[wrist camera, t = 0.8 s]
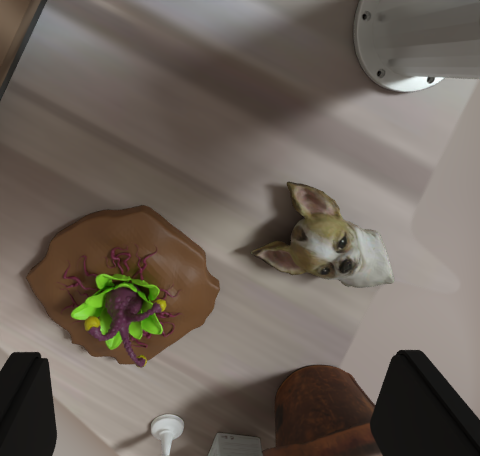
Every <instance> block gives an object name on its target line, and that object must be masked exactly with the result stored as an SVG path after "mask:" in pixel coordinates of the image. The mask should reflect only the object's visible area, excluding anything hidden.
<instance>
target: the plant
mask: <svg viewBox="0 0 480 456" xmlns="http://www.w3.org/2000/svg"><path fill="white" fill-rule="evenodd" d="M26 279H27V280H28V282H29V284H30V286H31V288H32V291H33V292H34V294H35V295H36V297H37V298H38V299H39V300H40V302H41V303H42V304H43V306H44V307H45V309H46V311H47V313H48V315H49V316H50V318H51V319H52V320H54V321H55V322H56V323H57V324H59V325H60V326H61V327H63V328H64V329H66V330H67V331H68V332H69V333H70V335H71V338H72V343H73V344H79V345H82V346H83V347H84V348H85V349H86V350H87V351H88V353H89V354H90V355H91V356H94V357H102V356H111V357H114V358H115V359H116V360H117V362H118V363H119V364H136V366H137V367H144V366H145V365H146V363H147V361H148V360H150V359H151V358H153V357H154V356H156V355H157V354H158V353H160V352H161V351H162V350H164V349H165V348H167V347H168V346H170V345H171V344H173V343H175V342H176V341H178V340H179V339H180V338H182V337H183V336H184V335H186V334H187V333H188V332H190V331H191V330H193V329H195V328H198V327H200V326H201V325H203V324H204V322H205V320H206V318H207V317H208V316H209V314H210V313H211V312H212V310H213V308H214V304H215V299H216V297H217V294H218V293H219V290H220V287H219V281H218V279H216V278H215V277H213V276H212V275H211V274H210V273H209V272H208V270H207V267H206V255H205V252H204V250H203V249H202V248H201V247H200V246H199V245H197V244H196V243H195V242H193V241H192V240H191V239H190V238H188V237H187V236H186V235H185V234H183V233H182V232H181V231H179V230H178V229H177V228H175V227H174V226H173V225H171V224H170V223H169V222H168V221H167V220H165V219H164V218H163V217H162V216H161V215H159V214H158V213H157V212H155V211H154V210H153V209H151V208H150V207H148V206H145V205H141V206H137V207H132V208H128V209H123V210H102V211H98V212H95V213H91V214H89V215H87V216H85V217H83V218H82V219H80V220H79V221H77V222H75V223H74V224H72V225H70V226H69V227H67V228H65V229H63V230H62V231H60V232H59V233H58V234H57V235H56V236H55V237H54V238H53V239H52V240H51V242H50V245H49V249H48V252H47V254H46V256H45V258H44V259H43V260H42V261H41V262H40V263H38V264H37V265H36V266H34V267H33V268H32V269H31V270H30V272H29V273H28V275H27V277H26Z"/></svg>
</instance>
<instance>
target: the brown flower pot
mask: <svg viewBox="0 0 480 456" xmlns="http://www.w3.org/2000/svg"><path fill="white" fill-rule="evenodd" d="M374 408H375V405H374V403H373V402H372V401H371V400H370V399H369V398H368V396H367V395H366V394H365V393H364V391H363V390H362V389H361V388H360V386H359V385H358V384H357V382H356V381H355V379H354V378H353V376H352V375H351V374H349V373H347V372H345V371H343V370H341V369H339V368H336V367H333V366H326V365H313V366H308V367H304V368H302V369H299V370H297V371H295V372H294V373H292V374H291V375H290V376H289V377H288V378H287V379H286V380H285V381H284V382H283V383H282V385H281V386H280V388H279V389H278V391H277V394H276V399H275V428H276V447H274V448H270V449H266V450H264V451H262V453H263V456H383V455H382V453H381V451H380V449H379V447H378V445H377V443H376V441H375V439H374V437H373V435H372V433H371V429H370V420H371V417H372V414H373V411H374Z"/></svg>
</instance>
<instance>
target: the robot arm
mask: <svg viewBox="0 0 480 456" xmlns="http://www.w3.org/2000/svg"><path fill="white" fill-rule="evenodd" d="M362 15H365V19H364V20H363V19H362ZM354 45H355V51H356V55H357V57H358V60H359V62H360V65H361V66H362V68H363V70H364V71H365V73H366V74H367V75H368V76H369V77H370V78H371V79H372V80H373V81H374V82H375V83H377V84H378V85H380V86H381V87H383V88H386V89H389V90H392V91H398V92H415V91H420V90H424V89H427V88H429V87H432V86H434V85H435V84H437V83H439V82H440V81H442V80H443V79H445V78H462V79H480V0H360V1H359V4H358V7H357V10H356V14H355V21H354ZM378 71H379V75H378V76H377V72H378ZM427 77H428V79H427ZM370 429H371V433H372V435H373V437H374V439H375V441H376V443H377V445H378V447H379V449H380V451H381V453H382V455H383V456H480V420H479V419H478V417H477V416H476V415H475V414H474V413H473V411H472V410H471V409H470V408H469V407H468V405H467V404H466V403H465V402H464V401H463V399H462V398H461V397H460V396H459V395H458V393H457V392H456V391H455V390H454V389H453V388H452V386H451V385H450V384H449V383H448V381H447V380H446V379H445V378H444V377H443V375H442V374H441V373H440V372H439V371H438V369H437V368H436V367H435V366H434V365H433V364H432V362H431V361H430V360H429V359H428V357H427V356H426V355H425V354H424V353H423V352H422V351H420V350H400V351H398V352H397V354H396V355H395V356H393V357H392V359H391V362H390V364H389V368H388V370H387V373H386V376H385V379H384V382H383V385H382V388H381V391H380V394H379V397H378V399H377V402H376V405H375V408H374V411H373V414H372V417H371V420H370ZM56 439H57V430H56V422H55V413H54V404H53V396H52V387H51V379H50V370H49V362H48V359H47V358H41V354H40V353H39V352H14V353H12V354H11V355H10V357H9V358H8V360H7V361H6V363H5V364H4V366H3V368H2V369H1V371H0V456H52V455H53V452H54V449H55V444H56Z"/></svg>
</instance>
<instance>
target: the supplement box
mask: <svg viewBox="0 0 480 456" xmlns="http://www.w3.org/2000/svg"><path fill="white" fill-rule="evenodd" d="M208 456H263V453H262V448H261V442H260V438H258V437H252V436H244V435H235V434H226V433H217V435H216V437H215V439H214V442H213V444H212V447H211V449H210V452H209V454H208Z"/></svg>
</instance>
